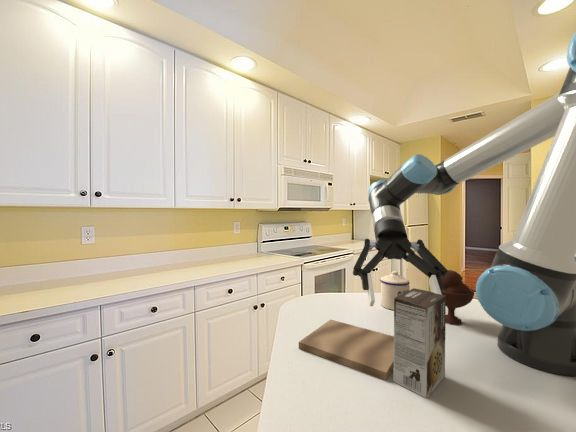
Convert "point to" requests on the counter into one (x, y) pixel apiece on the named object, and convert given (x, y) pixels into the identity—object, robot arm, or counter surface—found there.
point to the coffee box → (419, 340)
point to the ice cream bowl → (455, 295)
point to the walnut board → (352, 347)
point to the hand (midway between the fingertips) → (405, 305)
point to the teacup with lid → (392, 288)
